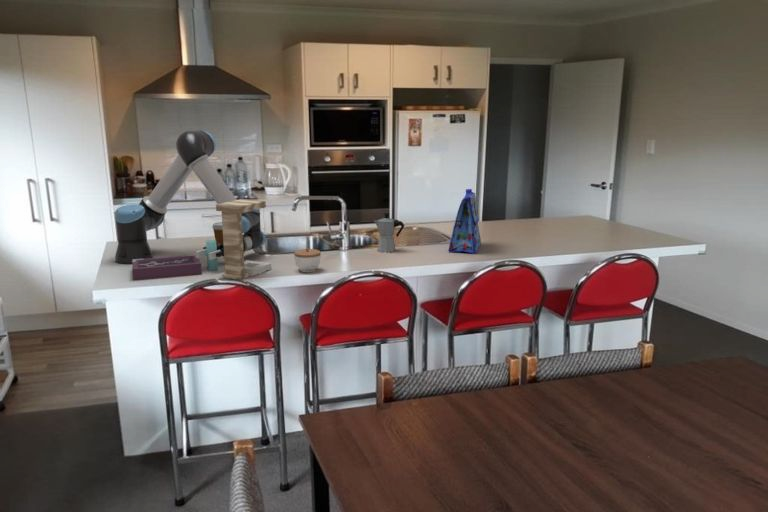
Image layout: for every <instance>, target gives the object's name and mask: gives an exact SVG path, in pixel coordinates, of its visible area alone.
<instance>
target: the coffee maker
mask: <svg viewBox="0 0 768 512" xmlns="http://www.w3.org/2000/svg"><path fill="white" fill-rule="evenodd" d="M389 215H390V212H384V215H383V216H384V217H383V218H380V219H378V220H373V222H374V223H375V226H376V227H377V229H378V233H379V238H378V243H377V252H379V253H384V252H386V253H385V254H389V253H388V252H390V253H395V252H396V251H395V250H396V243H395V238H394V234H395V228H396V227H399V226H400V228H399V230H398V232H397V233H396V235H395V236H396V237H397V238H398V237H399V235H400V234H401V232H402V231H403V229H404V227H405V224H404V223H403V221H402V220H398V219H393V218H390V217H389Z"/></svg>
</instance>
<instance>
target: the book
mask: <svg viewBox="0 0 768 512" xmlns="http://www.w3.org/2000/svg"><path fill="white" fill-rule="evenodd" d="M131 268H132V269H131V271H132V280H133V281H142V280H144V281H145V280H151V279H152V280H154V279H163V278H175V277H186V276H196V275H197V276H198V275H202V263H201V261H200V258H196V254H186V255H177V256H175V255H174V256H164V257H161V256H160V257H153V258H149V259H132V266H131Z"/></svg>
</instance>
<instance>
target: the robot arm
mask: <svg viewBox="0 0 768 512" xmlns="http://www.w3.org/2000/svg"><path fill="white" fill-rule="evenodd" d="M175 146H176V152H177V156H176V158H175V159H174V160H173V161H172V163H171V164H170V166H169V167H168V169H166V171H165V173H164V174H163V176H162V177H161V178H160V180H159V181H158V183H157V184H156V186H155V187H154V188H153V189H152V191H151V192H150V194H149V195H146V196H144V197H143V198H142V199H141V200H140V201H139V203H138V204H126V205H122V206H119V207H118V208H117V209H115V212H114V214H115V215H114V218H115V225H116V236H117V248H116V252H115V257H114V258H115V263H117V264H124V265H125V264H127V265H128V264H132V259H149V258H154V253H153V251H152V249H151V247H150V244H149V242H148V237H147V236H148V235H147V234H148V233H147V232H148V231H151V230H154V229H156V228H158V227H159V226H161V225H162V224H163V222H164V220H165V216H166V214H167V212H168V209H167V207H168V205H169V204H170V203H171V201H172V199H173V198H174V197H175V196H176V194H177V193H178V191H179V190H180V188H181V187H182V186H183V185H184V183H185V181H186V180H187V179H188V177H189V176H190V175H191V173H192V172H194V174H195V176H197V178H198V179H199V180H200V182H201V183H202V185H203V186H204V188H205V189H206V190H207V191H208V193H209V195H210V196H211V197H212V199H213V200H214V201H215V203H216V204H220V203H225V202H230V201H235V200H237V198H236V197H235V195H234V194H233V193H232V191H231V189H229V187H228V186H227V184H226V183H225V181H224V180H223V179H222V177H221V176H220V174H219V173H218V172H217V171H216V170H217V169H215V168H214V166H213V165H212V163H211V162H210V160H209V159H208V158H209V157H210V156H211V155H213V154H214V152H215V150H216V141H215V138H214V137H213V135H212V134H211V133H210V132H208V131H205V130H201V129H197V130H188V131H184V132H182V133H180V134H179V136H178V137H177V139H176V142H175ZM261 229H262V228H261V209H257V210H253V211H248V212H244V213H242V232H243V251H244V254H245V252H249V251H251V250H254V249H258V248H260V247H262V246H264V245H265V243H266V240H267V237H266V235H265V232H264V231H262V230H261ZM216 245H217V251H214V252H211V253H209V260H212V259H215V258H217V259H218V258H221V257H224V244H220V245H219V243H216ZM195 255H196V258H199V259H200V258H203V257H207V249H206V246H204V247H203V248H202V249H200V250H197V251H195ZM132 265H133V264H132Z"/></svg>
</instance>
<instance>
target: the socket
mask: <svg viewBox="0 0 768 512" xmlns="http://www.w3.org/2000/svg"><path fill="white" fill-rule="evenodd" d="M269 269H270V270H272V262H264V261H256V260H249V259H246V260H244V270H245V273H247V274H248V276H249V275H253V276H252V277H255V276H258V275H260V274H263V273H265V272H267V271H266V270H268V271H270V270H269ZM264 271H265V272H264ZM262 272H263V273H262ZM259 273H260V274H259ZM257 274H258V275H257ZM254 275H255V276H254Z"/></svg>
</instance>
